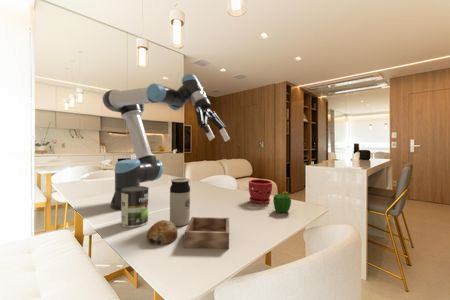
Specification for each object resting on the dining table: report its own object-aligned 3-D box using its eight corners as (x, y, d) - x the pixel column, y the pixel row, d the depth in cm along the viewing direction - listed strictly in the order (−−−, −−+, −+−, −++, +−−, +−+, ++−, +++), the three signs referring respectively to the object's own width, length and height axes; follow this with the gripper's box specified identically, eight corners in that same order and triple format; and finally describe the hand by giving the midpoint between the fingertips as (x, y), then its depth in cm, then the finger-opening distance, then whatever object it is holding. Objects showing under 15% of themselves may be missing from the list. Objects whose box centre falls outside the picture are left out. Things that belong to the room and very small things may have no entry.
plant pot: (243, 201, 125) (244, 180, 125) (258, 198, 134) (259, 178, 134) (261, 206, 115) (261, 184, 115) (276, 202, 124) (277, 181, 124)
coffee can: (153, 219, 93) (153, 186, 93) (139, 229, 83) (139, 192, 83) (131, 217, 95) (131, 185, 95) (115, 226, 85) (115, 190, 85)
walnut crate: (184, 247, 69) (184, 232, 69) (191, 230, 83) (191, 217, 83) (228, 248, 69) (229, 233, 69) (228, 230, 83) (228, 217, 83)
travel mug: (165, 223, 89) (165, 179, 88) (179, 218, 96) (180, 177, 95) (179, 228, 85) (180, 181, 84) (193, 222, 91) (194, 179, 91)
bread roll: (178, 251, 74) (187, 227, 77) (154, 247, 67) (164, 221, 70) (162, 241, 81) (170, 220, 83) (138, 237, 74) (148, 214, 76)
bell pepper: (269, 211, 108) (269, 191, 107) (278, 208, 114) (278, 188, 113) (284, 215, 102) (285, 194, 101) (293, 212, 108) (294, 191, 107)
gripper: (189, 91, 93) (211, 133, 88) (219, 102, 115) (238, 136, 110) (178, 102, 97) (198, 143, 91) (209, 111, 118) (227, 144, 113)
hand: (220, 139), depth 100 cm, fingers open, 13 cm apart
